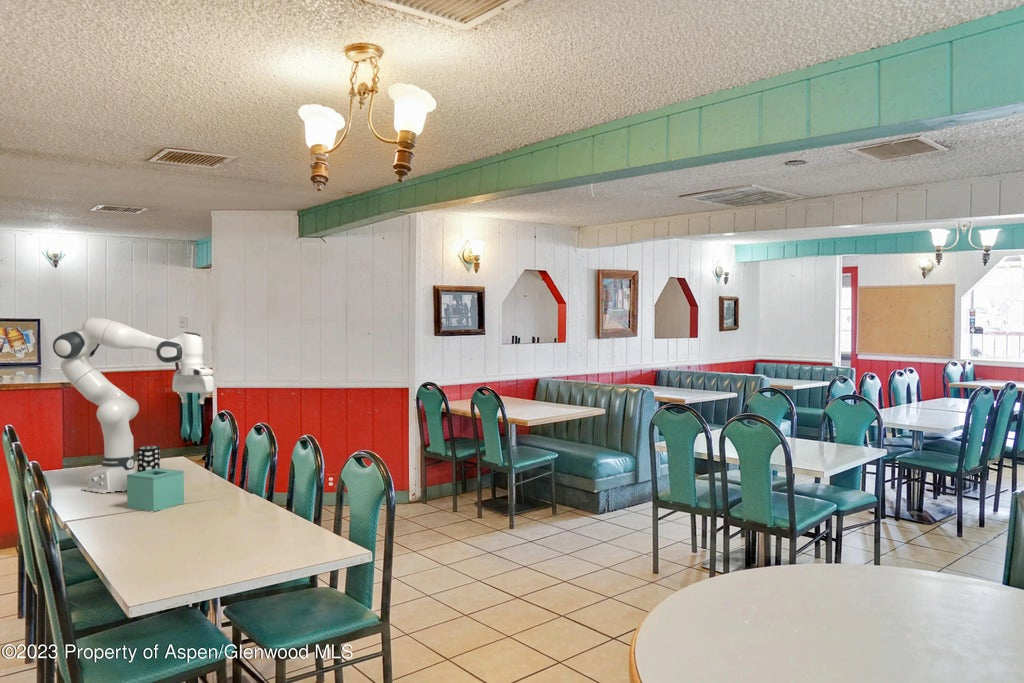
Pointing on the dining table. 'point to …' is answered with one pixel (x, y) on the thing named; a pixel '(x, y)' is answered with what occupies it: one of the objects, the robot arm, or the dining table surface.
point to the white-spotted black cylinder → (148, 458)
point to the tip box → (155, 489)
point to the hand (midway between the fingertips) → (192, 403)
